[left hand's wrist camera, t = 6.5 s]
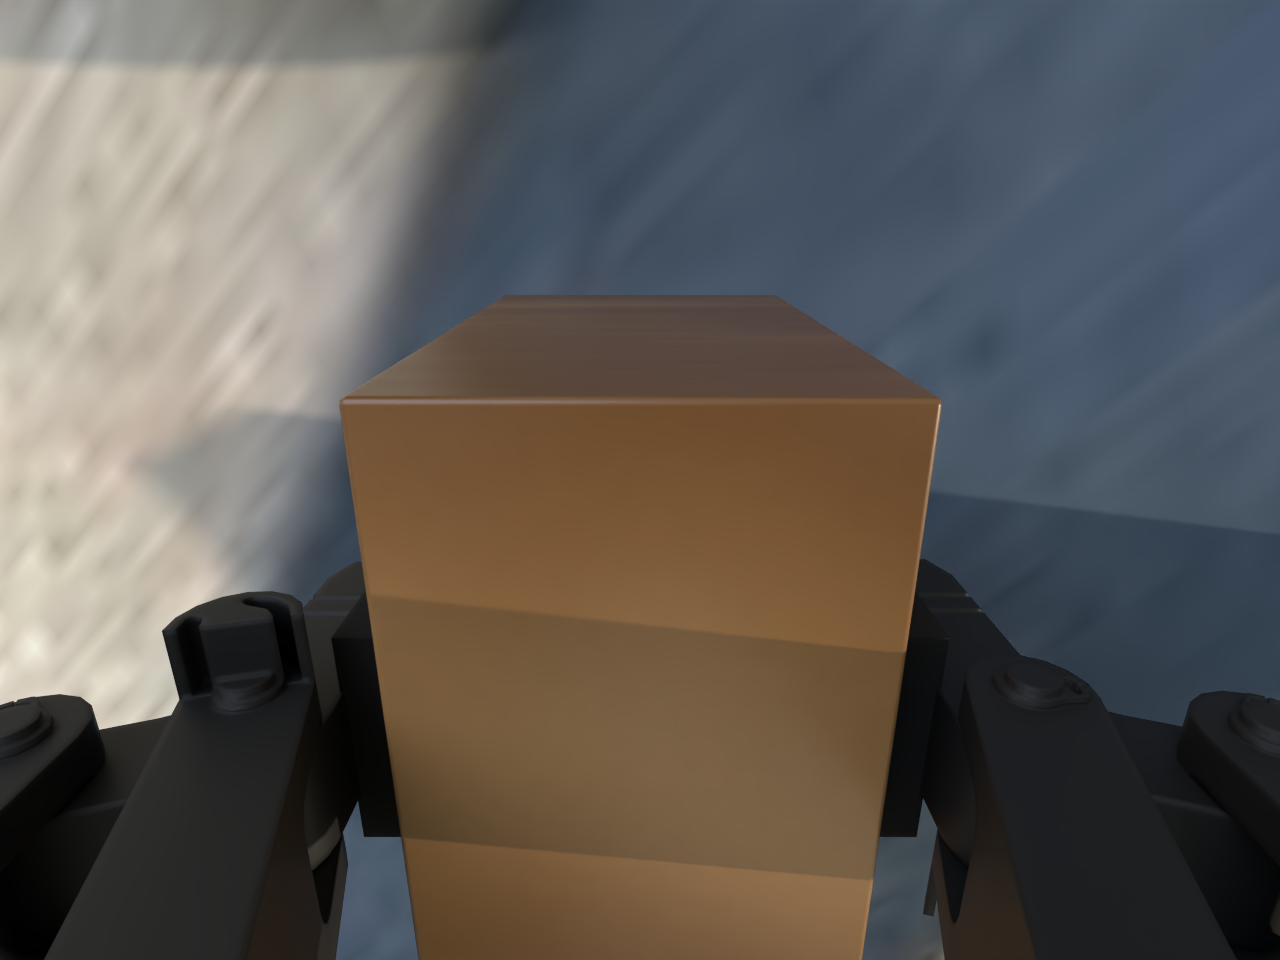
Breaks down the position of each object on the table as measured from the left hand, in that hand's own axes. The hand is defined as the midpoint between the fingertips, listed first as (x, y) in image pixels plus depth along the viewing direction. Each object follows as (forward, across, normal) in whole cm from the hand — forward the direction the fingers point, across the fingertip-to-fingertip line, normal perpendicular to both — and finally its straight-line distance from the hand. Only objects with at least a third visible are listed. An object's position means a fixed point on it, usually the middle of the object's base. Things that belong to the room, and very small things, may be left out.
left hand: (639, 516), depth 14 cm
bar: (+1, 0, -32) cm, 32 cm away
